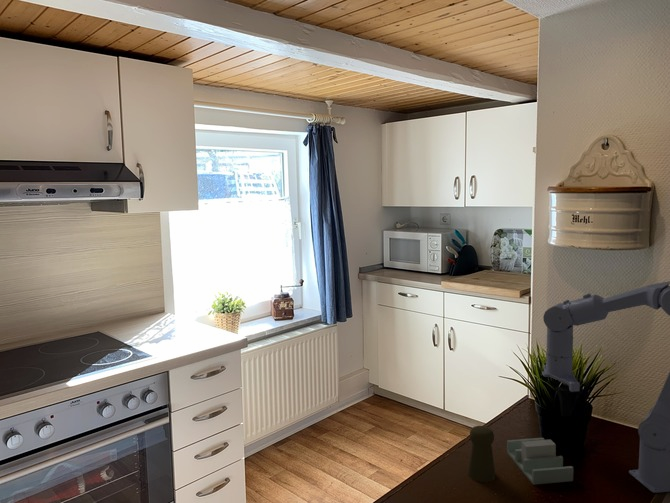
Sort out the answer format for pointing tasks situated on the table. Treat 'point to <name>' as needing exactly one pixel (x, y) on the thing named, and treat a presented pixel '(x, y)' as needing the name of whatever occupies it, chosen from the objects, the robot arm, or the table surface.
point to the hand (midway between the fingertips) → (558, 408)
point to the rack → (540, 465)
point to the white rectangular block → (537, 449)
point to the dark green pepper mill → (481, 455)
